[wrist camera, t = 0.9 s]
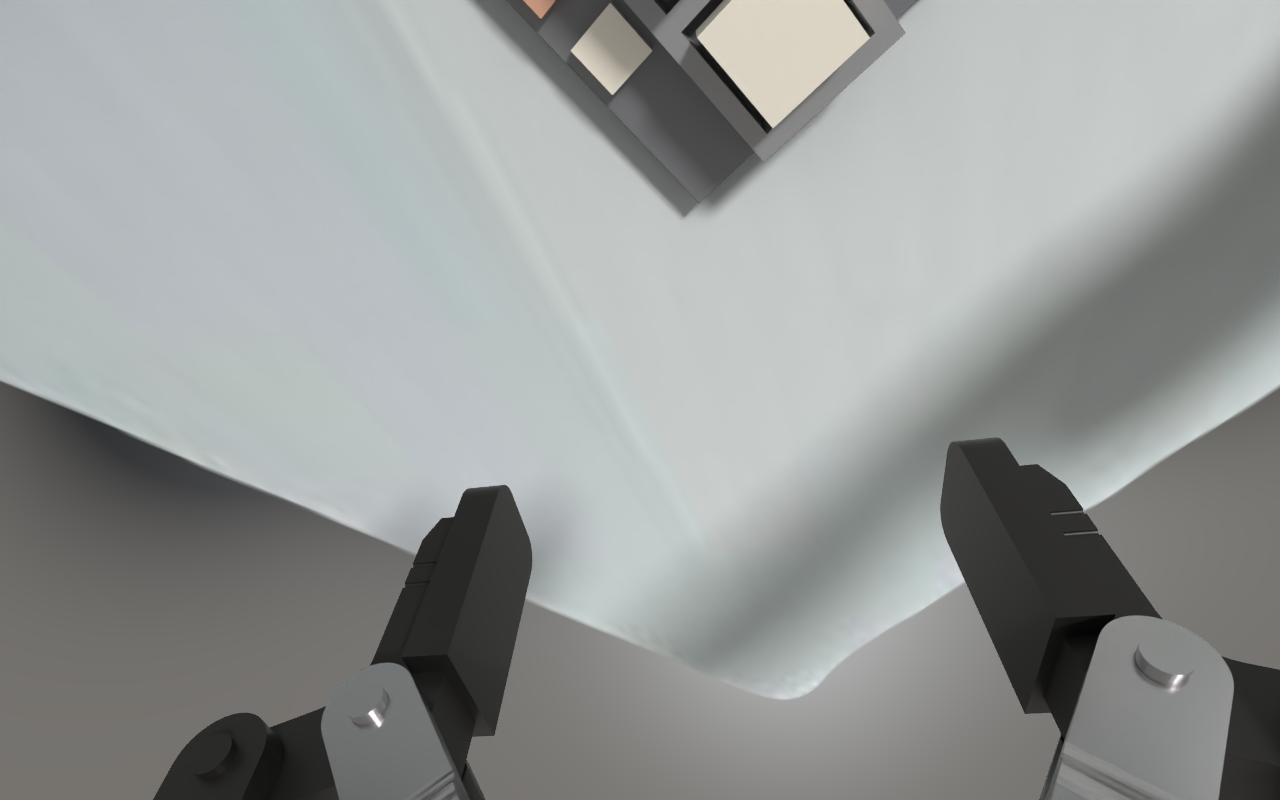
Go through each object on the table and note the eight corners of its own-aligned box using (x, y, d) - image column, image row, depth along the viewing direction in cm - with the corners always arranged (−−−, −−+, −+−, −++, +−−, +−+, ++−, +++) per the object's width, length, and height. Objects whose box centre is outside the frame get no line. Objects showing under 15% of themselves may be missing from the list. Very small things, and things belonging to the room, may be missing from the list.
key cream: (786, -68, 23) (794, -69, 22) (857, 31, 25) (870, 37, 23) (695, 30, 25) (696, 37, 24) (767, 116, 27) (773, 128, 25)
